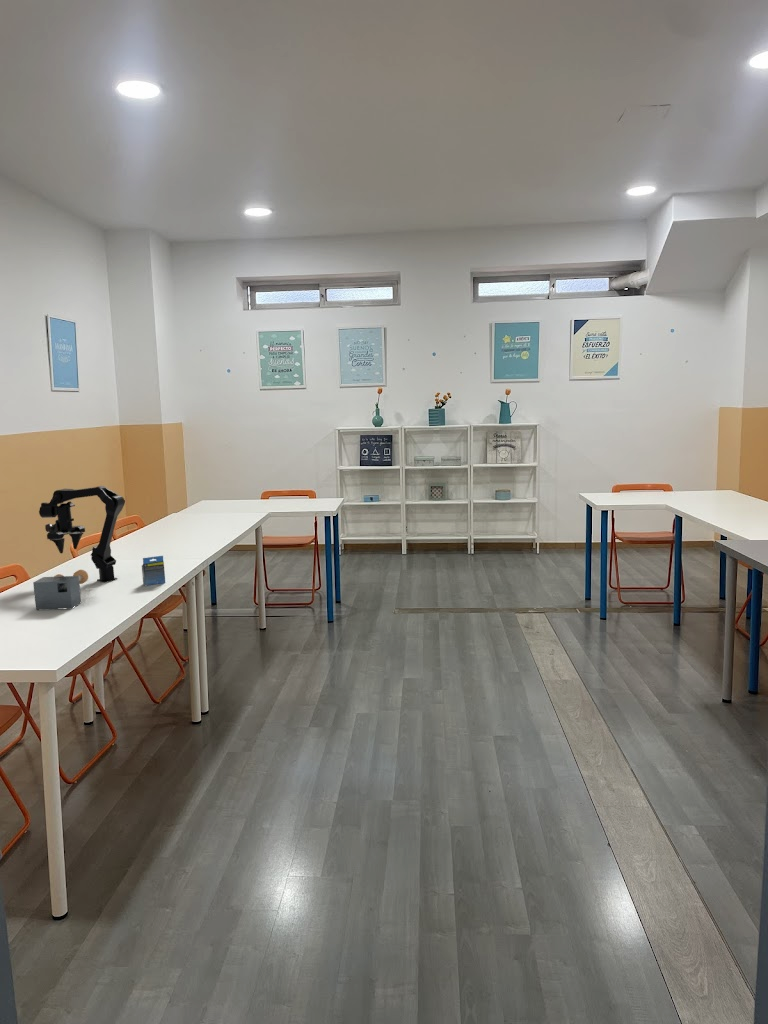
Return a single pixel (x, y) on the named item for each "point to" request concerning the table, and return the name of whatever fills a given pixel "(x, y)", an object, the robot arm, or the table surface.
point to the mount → (57, 592)
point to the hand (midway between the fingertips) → (68, 551)
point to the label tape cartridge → (153, 570)
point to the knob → (82, 577)
